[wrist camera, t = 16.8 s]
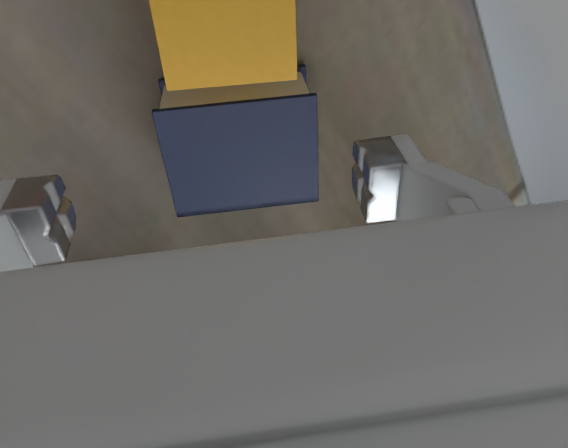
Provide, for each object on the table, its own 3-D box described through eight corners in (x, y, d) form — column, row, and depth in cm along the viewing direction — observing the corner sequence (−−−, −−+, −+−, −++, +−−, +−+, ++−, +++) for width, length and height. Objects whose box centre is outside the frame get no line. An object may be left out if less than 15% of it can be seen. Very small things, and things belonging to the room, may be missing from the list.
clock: (288, 127, 31) (303, 49, 20) (188, 137, 30) (152, 61, 20) (270, -28, 32) (275, -178, 21) (174, -21, 31) (132, -171, 21)
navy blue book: (307, 163, 39) (318, 201, 35) (180, 177, 38) (177, 217, 34) (304, 64, 34) (317, 95, 30) (158, 78, 33) (151, 112, 29)
